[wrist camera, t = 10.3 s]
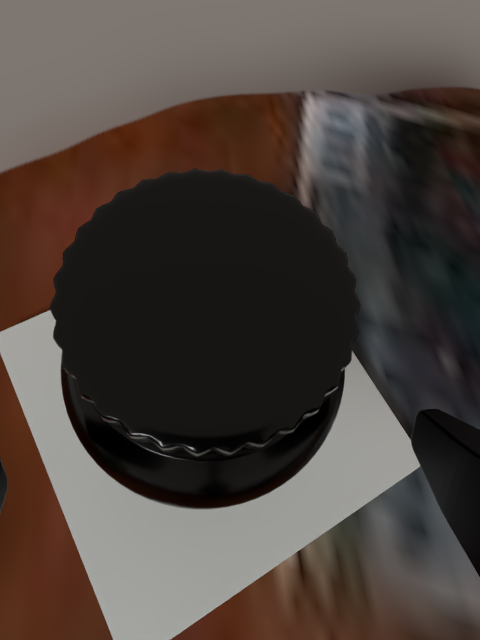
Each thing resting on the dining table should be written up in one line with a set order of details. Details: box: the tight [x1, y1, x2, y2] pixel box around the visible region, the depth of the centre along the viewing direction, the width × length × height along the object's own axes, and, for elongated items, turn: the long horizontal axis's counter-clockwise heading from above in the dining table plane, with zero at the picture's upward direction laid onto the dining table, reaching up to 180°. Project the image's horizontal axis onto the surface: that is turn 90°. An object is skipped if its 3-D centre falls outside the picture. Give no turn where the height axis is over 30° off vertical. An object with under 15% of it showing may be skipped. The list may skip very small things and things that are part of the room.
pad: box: [0, 310, 420, 640], centre depth 18 cm, size 14×14×1 cm
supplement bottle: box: [50, 169, 360, 509], centre depth 12 cm, size 7×7×12 cm
